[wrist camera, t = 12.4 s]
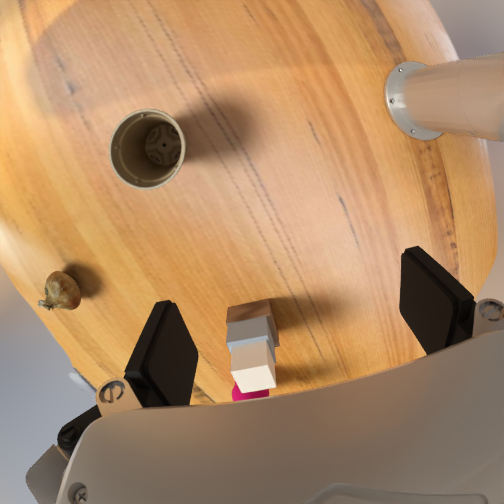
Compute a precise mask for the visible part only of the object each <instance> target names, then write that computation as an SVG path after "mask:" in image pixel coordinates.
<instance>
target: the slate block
mask: <svg viewBox="0 0 504 504" xmlns="http://www.w3.org/2000/svg"><path fill="white" fill-rule="evenodd" d="M262 340H266V341H267V343H268V346H269V349H270V352H271V355H272V357H273V360H274V363H276V357H275V347H274V341H273V338H272V334H271V331H270V328H269V324H268V321H267V317H266V316H264V317H259V318H254V319H249V320H244V321H239V322H234V323H229V324H228V331H227V340H226V344H227V346H228V348H229V350H230V353H231V355H232V347H233V346H238V345H243V344H248V343H252V342H257V341H262Z"/></svg>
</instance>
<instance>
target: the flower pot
mask: <svg viewBox="0 0 504 504" xmlns="http://www.w3.org/2000/svg"><path fill="white" fill-rule="evenodd" d="M173 128H174V129H176V130H177V131H178V133H179V134H178V135H176V134H175V133H174V132H173V131H172V129H173ZM154 131H155V132H156V134H155V135H154V136H153V138H152V139H150V137H151V135H152V133H153V132H154ZM163 144H166V146H165V147H164V146H163ZM186 146H187V142H186V137H185V135H184V133H183V131H182V130H181V128H180V126H179V125H178V123H177V122H176V121H175V120H174V119H173V118H172V117H171V116H170V115H168V114H167V113H165V112H162V111H160V110H156V109H141V110H137V111H135V112H132V113H131V114H129V115H127V116H126V117H125V118H124V119H123V120H121V121H120V123H119V124H118V125H117V126H116V128H115V130H114V132H113V134H112V136H111V139H110V143H109V160H110V164H111V167H112V169H113V171H114V173H115V174H116V176H117V177H118V178H119V179H120V180H121V181H122V182H124V183H125V184H126V185H128V186H130V187H132V188H135V189H139V190H153V189H157V188H160V187H162V186H164V185H165V184H167V183H168V182H170V181H171V180H172V179H173V178H174V177H175V176H176V174H177V173H178V172H179V170H180V168H181V166H182V164H183V161H184V157H185V151H186ZM179 152H181V153H180V154H179V156H178V157H177V158H175V156H176V155H177V153H179ZM152 156H154V157H155V158H156V159H158V160H159V161H158V162H157V161H155V160H153V158H152Z"/></svg>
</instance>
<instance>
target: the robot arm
mask: <svg viewBox="0 0 504 504" xmlns="http://www.w3.org/2000/svg"><path fill="white" fill-rule="evenodd" d="M384 98H385V104H386V107H387V110H388V112H389V114H390V116H391V119H392V120H393V121H394V123H395V124H396V126H397V127H398V128H399V129H400V130H401V131H402V132H404V133H405V134H406V135H408V136H410V137H412V138H415V139H419V140H432V139H435V138H437V137H439V136H440V135H442V134H443V133H451V134H458V135H465V136H471V137H477V138H483V139H488V140H493V141H504V52H500V53H495V54H490V55H485V56H479V57H473V58H467V59H461V60H456V61H451V62H446V63H442V64H437V65H433V66H429V67H428V66H427V65H425V64H422V63H420V62H414V61H410V62H404V63H401V64H399V65H397V66H395V67H394V68H393V69H392V70H391V71H390V73H389V74H388V76H387V79H386V81H385V86H384ZM390 101H391V103H390ZM399 309H400V313H401V315H402V317H403V318H404V320H405V321H406V323H407V324H408V326H409V327H410V329H411V330H412V332H413V333H414V335H415V336H416V338H417V339H418V341H419V343H420V344H421V346H422V347H423V349H424V351H425V352H426V354H427V355H426V356H423V357H421V358H418V359H415V360H412V361H410V362H407V363H404V364H401V365H398V366H395V367H392V368H388V369H385V370H382V371H379V372H375V373H372V374H369V375H365V376H361V377H358V378H354V379H350V380H346V381H343V382H339V383H334V384H330V385H326V386H322V387H317V388H312V389H308V390H303V391H298V392H292V393H287V394H281V395H275V396H269V397H263V398H256V399H248V400H241V401H232V402H223V403H212V404H199V405H189V404H190V399H191V393H192V388H193V383H194V378H195V373H196V368H197V363H198V351H197V348H196V346H195V344H194V342H193V340H192V338H191V336H190V333H189V331H188V329H187V327H186V325H185V323H184V320H183V318H182V316H181V314H180V312H179V309H178V307H177V305H176V303H172V302H171V301H170V300H166V301H160V302H156V304H155V305H154V308H153V310H152V312H151V314H150V316H149V318H148V320H147V322H146V324H145V326H144V329H143V331H142V333H141V335H140V337H139V339H138V342H137V344H136V346H135V348H134V351H133V353H132V355H131V357H130V360H129V362H128V364H127V366H126V369H125V371H124V372H125V376H124V378H118V377H116V378H112V379H109V380H107V381H106V382H104V383H103V384H102V385H101V386H100V387H99V388H98V390H97V392H96V396H95V397H96V402H97V405H95V406H94V407H92V408H91V409H89V410H88V411H86V412H84V413H83V414H81V415H80V416H78V417H77V418H75V419H73V420H72V421H71V422H69V423H67V424H66V425H64V426H63V427H62V429H61V430H60V432H59V434H58V438H57V440H58V445H57V446H55V445H54V444H53V445H52V446H51V447H50V448H49V449H48V450H47V451H46V452H45V453H44V454H43V455H42V456H41V457H40V459H39V460H38V461H37V462H36V463H35V464H34V465H33V466H32V467H31V468H30V469H29V470H28V472H27V474H26V483H27V486H28V487H29V489H30V491H31V492H32V494H33V495H34V497H35V499H36V500H37V502H38V503H39V504H504V304H503V303H502V302H500V301H498V300H495V299H483V300H481V301H479V302H478V303H476V302H475V301H474V296H473V295H472V294H471V293H470V292H469V291H468V290H467V289H466V288H465V287H464V286H463V285H462V284H460V283H459V282H458V281H457V280H456V279H455V278H454V277H453V276H452V275H451V274H450V273H449V272H448V271H447V270H445V269H444V268H443V267H442V266H441V265H440V264H439V263H438V262H437V261H435V260H434V259H433V258H432V257H431V256H430V255H429V254H427V253H426V252H425V251H424V250H423V249H422V248H420V247H419V246H415V247H411V248H407V249H405V251H404V253H402V255H401V286H400V304H399Z"/></svg>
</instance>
